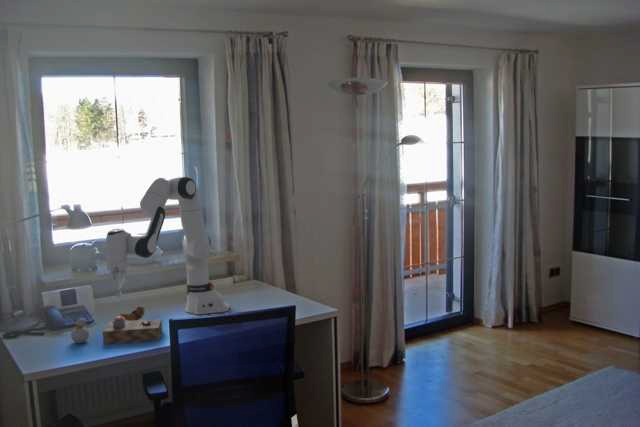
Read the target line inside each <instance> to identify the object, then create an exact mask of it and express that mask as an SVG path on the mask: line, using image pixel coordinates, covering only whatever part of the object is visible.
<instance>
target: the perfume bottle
mask: <svg viewBox="0 0 640 427" xmlns="http://www.w3.org/2000/svg"><path fill="white" fill-rule="evenodd" d="M86 325H87V319H86V318H83V317H80V316H78V318H77V322H75V327H74V328H73V330H72V331H71V335H70V336H71V340H72V341H73V343H76V344H83V343H85V342H87V341H88V339H89V337H90V333H89V330H88V329H87V328H86V327H85V326H86Z"/></svg>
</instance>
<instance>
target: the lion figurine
mask: <svg viewBox="0 0 640 427" xmlns="http://www.w3.org/2000/svg"><path fill="white" fill-rule="evenodd" d="M145 312H146V311H145V307H144V306H142V305H139V306H137V307H136V308H135V309H134V310H133V311H132V312H129V313H126V312H122V313H120V314H118V316H123V318H125V321H135V320H142V318H143V316H144V315H145Z"/></svg>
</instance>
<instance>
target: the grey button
mask: <svg viewBox="0 0 640 427" xmlns="http://www.w3.org/2000/svg"><path fill="white" fill-rule="evenodd" d="M150 325H152V323H151V321H143V322H142V325H141V326H150Z"/></svg>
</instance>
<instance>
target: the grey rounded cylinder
mask: <svg viewBox="0 0 640 427" xmlns="http://www.w3.org/2000/svg"><path fill="white" fill-rule="evenodd" d="M125 321H126V319H125V318H123V316H119V315H116V316H114V317H113V321H112V322H113V328H119V327H124V326H125Z"/></svg>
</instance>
